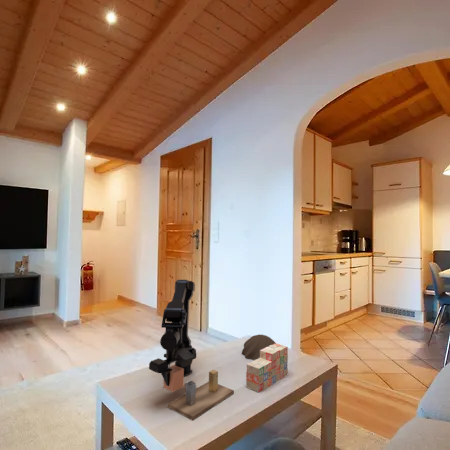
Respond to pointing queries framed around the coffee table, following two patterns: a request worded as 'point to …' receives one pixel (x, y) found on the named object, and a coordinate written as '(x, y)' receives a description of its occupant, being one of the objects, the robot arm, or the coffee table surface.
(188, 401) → the steel post
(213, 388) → the brass post
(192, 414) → the board
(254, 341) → the decorative dome
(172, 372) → the salmon orange block
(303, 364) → the coffee table surface
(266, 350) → the stack of blocks
